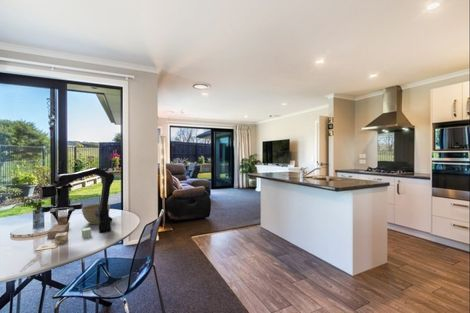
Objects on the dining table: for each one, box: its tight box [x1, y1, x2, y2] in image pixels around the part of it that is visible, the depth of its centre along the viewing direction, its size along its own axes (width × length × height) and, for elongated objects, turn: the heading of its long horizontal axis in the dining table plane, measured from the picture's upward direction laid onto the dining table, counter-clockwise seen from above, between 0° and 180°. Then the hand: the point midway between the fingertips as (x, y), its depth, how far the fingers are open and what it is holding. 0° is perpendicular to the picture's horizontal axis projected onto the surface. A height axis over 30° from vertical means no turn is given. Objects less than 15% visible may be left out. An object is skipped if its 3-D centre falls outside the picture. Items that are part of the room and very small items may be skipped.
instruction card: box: [34, 242, 60, 252], centre depth 127 cm, size 9×7×1 cm
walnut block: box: [57, 214, 70, 226], centre depth 134 cm, size 4×4×4 cm
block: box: [81, 227, 92, 239], centre depth 143 cm, size 4×4×4 cm
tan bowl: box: [81, 203, 111, 225], centre depth 169 cm, size 18×18×12 cm
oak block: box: [54, 231, 69, 244], centre depth 135 cm, size 5×5×4 cm
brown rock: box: [47, 222, 70, 239], centre depth 148 cm, size 17×8×5 cm, turn 25°
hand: (63, 221), depth 134 cm, fingers closed on walnut block, 4 cm apart
